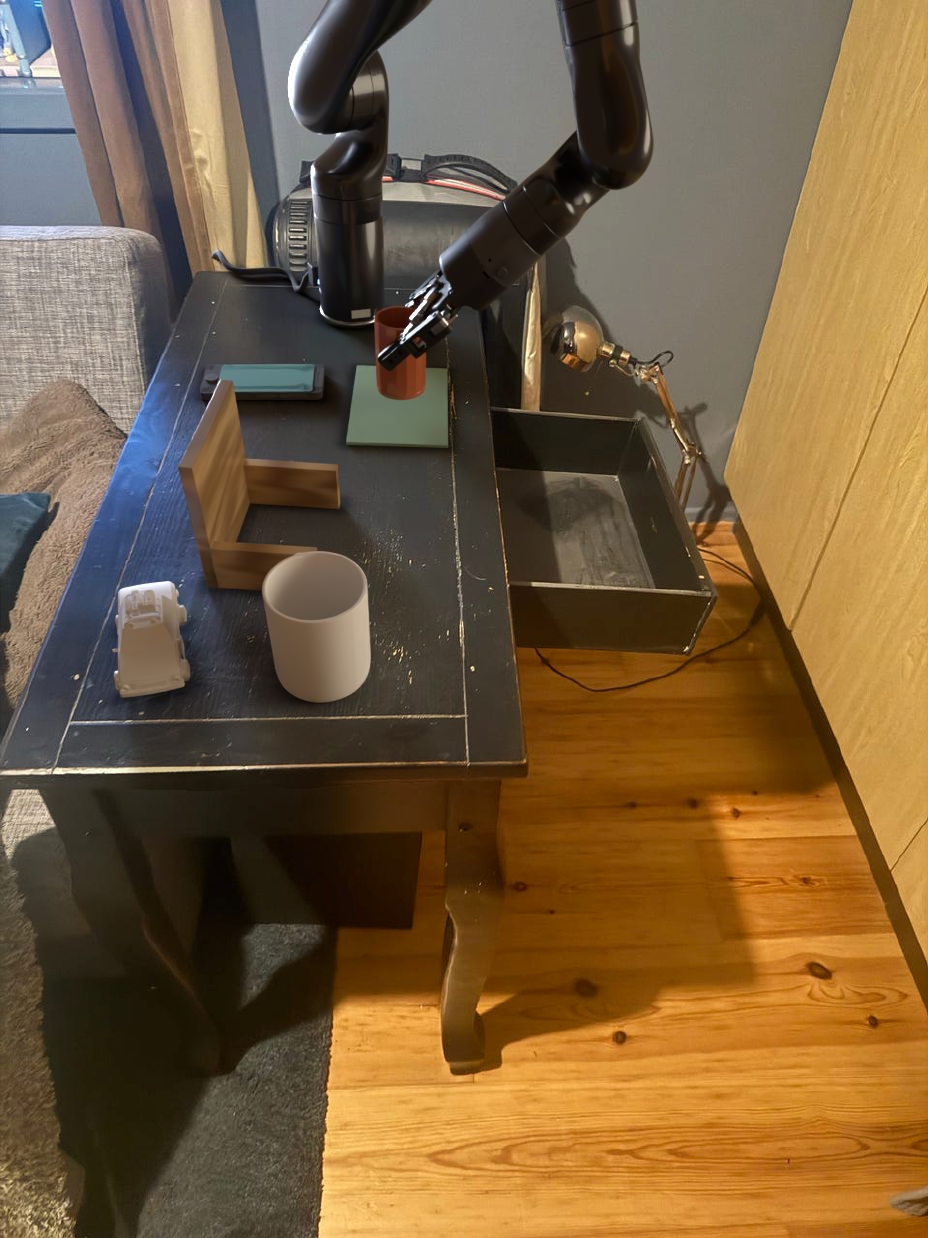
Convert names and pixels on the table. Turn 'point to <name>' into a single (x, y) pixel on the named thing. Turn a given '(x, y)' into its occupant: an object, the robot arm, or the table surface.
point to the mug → (318, 625)
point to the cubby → (242, 495)
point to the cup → (410, 372)
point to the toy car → (150, 640)
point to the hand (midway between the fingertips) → (386, 350)
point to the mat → (399, 413)
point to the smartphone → (266, 381)
